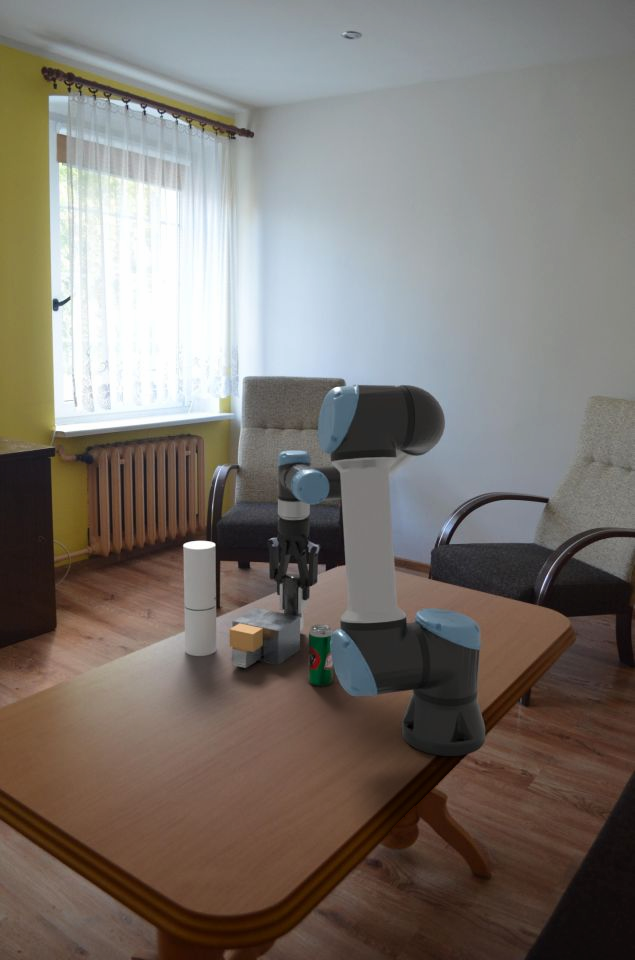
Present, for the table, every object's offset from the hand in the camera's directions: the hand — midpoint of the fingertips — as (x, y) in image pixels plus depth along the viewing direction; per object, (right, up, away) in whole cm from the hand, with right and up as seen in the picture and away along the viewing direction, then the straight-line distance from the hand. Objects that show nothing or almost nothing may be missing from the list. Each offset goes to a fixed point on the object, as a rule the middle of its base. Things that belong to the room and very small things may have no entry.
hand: (292, 609), depth 193 cm
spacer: (-10, -5, -18) cm, 21 cm away
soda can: (+7, -11, -25) cm, 28 cm away
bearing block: (-6, -8, -10) cm, 14 cm away
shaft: (-5, -7, -9) cm, 12 cm away
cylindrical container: (-21, -8, -9) cm, 24 cm away
